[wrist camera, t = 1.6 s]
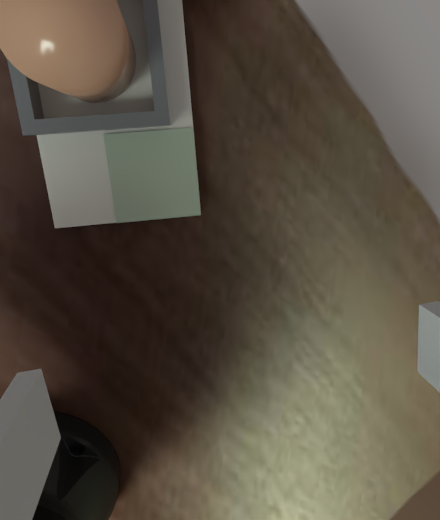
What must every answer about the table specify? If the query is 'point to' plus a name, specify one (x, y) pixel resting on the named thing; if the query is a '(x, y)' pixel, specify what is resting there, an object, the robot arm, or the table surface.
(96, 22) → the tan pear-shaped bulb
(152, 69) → the cradle
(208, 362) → the table surface
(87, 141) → the board
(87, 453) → the robot arm
